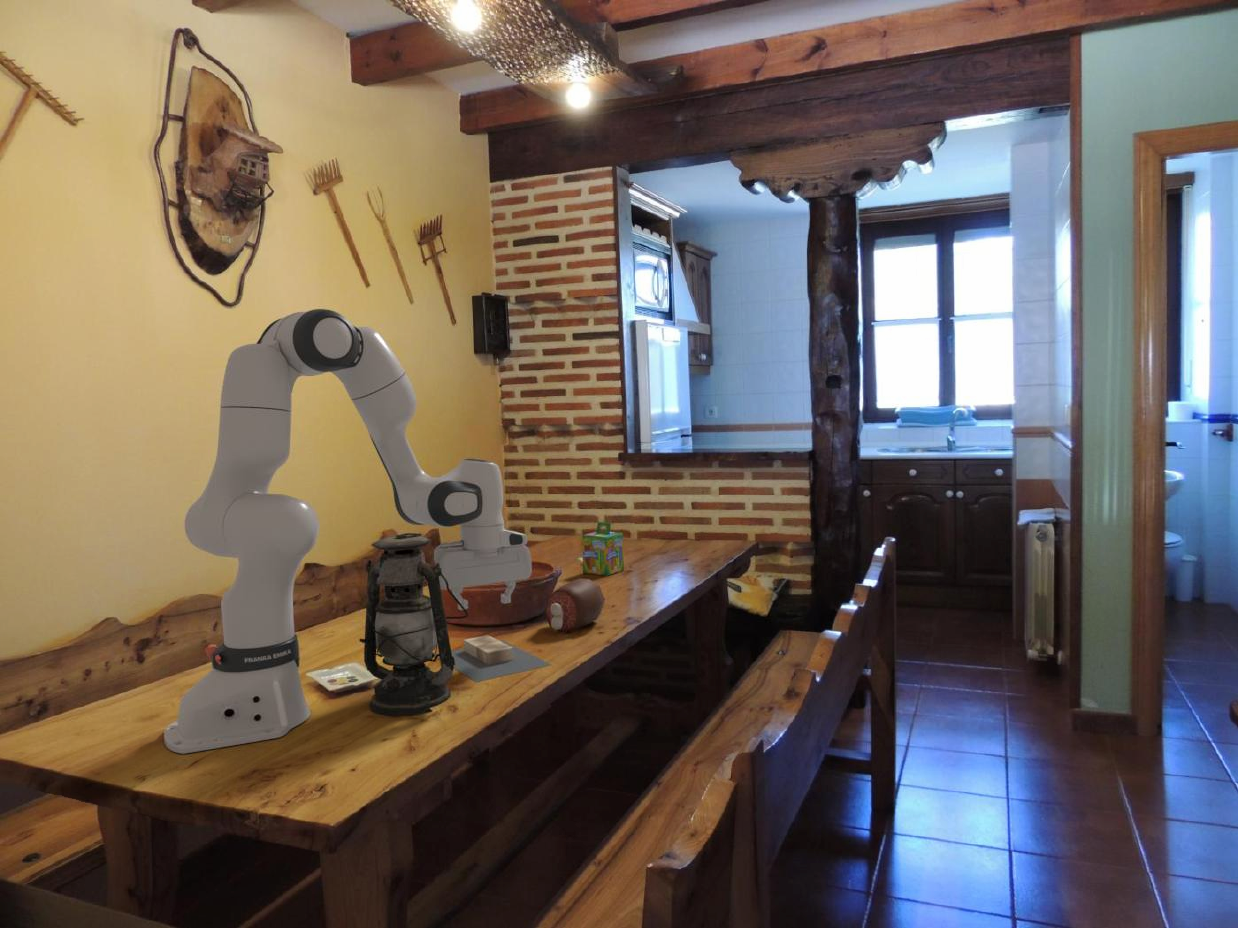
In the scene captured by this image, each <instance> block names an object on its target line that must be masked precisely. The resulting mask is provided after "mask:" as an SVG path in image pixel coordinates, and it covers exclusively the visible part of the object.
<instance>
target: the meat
mask: <svg viewBox="0 0 1238 928" xmlns="http://www.w3.org/2000/svg"><path fill="white" fill-rule="evenodd" d="M605 600H606V598H605V596H604V593H603V592H602V588H601V586H600V585H599V584H598V583H596V582H595V581H593V580H592V579H589V578H578V579H574V580H572V581H570V582H567V583H565V584H563V585H561V586H559V587H558V588H557V589H556V590H554V591H552V592H551V594H549V595H548V597H547V600H546V603H545V606H544V610H543V613H544V616H545V618H546V620H547V622H548V623H547V624H548V625H549V627H551V628H552V629H554V630H555V631H556V632H557V633H558V634H570V633H573V632H575V631H577V630H578V629H581V628H584V627H585V626H588V625H590V624H592V623H594V622H595V621H596V620H597V619H598V618H599V616H600V615H601V614H602V611H603V607H604V604H605ZM574 630H575V631H574ZM572 631H573V632H572Z"/></svg>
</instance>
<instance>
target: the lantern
mask: <svg viewBox="0 0 1238 928" xmlns="http://www.w3.org/2000/svg"><path fill="white" fill-rule="evenodd" d="M431 541H432V539H431V538H428V537H425V536H422V533H415V532H414V533H411V532H406V533H401V534H396V535H395V536H394V535H393V536H388V537H383V538H381V539H379V540H378V539H377V541H374V542H372V543H371V545H370V546H371V547H373V548H374V549H375V548H376V549H379V550H384V551H383V553H381V556H379V561H376V562H374V563H372V561H371V559H369V560H367V561H366V565H365V566H364V567H365V571H366V573H367V581H366V583H367V586H366V604H365V605H366V606H365V607H366V609H365V610H366V611H365V625H364V626H365V627H364V629H365V630H364V638H359V639H358V640H359V642H361V643H362V644H363V645H364V647H363V648H364V650H363V654H364V655H363V662H364V664H365V667H366V670H367V671H368V672H369V673H370V674H371V676H373V677H375V678H377V679H380V681H377V682H376V683H375V685H374V686H373V689H374V690H373V691H374V694H373V695H372V696H371V699H370V701H369V704H368V705H369V706H368V707H369V710H370V711H371V712H373V713H374V714H377V715H380V716H386V717H410V716H411V717H412V716H417V715H423V714H426V713H431V712H433V710H432V709H431V708H434V707H438V706H440V705H442V704H443V703H445V702H447V701H448V700H449V699H450V698H451V697H452V693H451V690H450V688H449V687H448V686H447V682H449V681H450V680H451V678H452V677H453V673H454V670H455V669H454V665H455V660H454V656H452V653H451V651H452V648H451V643H450V636H449V631H448V630H449V629H448V623H447V620H449V619H454V620H455V619H456V620H458V619H464V618H465V619H466V618H467V617H468V615H469V614H468V611H467V609H465V608H464V607H463V606H462V605H461V603H460V602H459V601H458V599H457V598H456V597H455V596H454V594H453V593H452V590H451V589H449V585H448V582H447V580H446V578H445V577H444V576H443V574H442V571H441V568H440V565H439V563H436V565H435V564H434V566H433V565H431V564H429V563H427V562H426V559H425V553H424V552H423V550H421V549H420V548H421V547H422V546H426V545H428V544H429V543H430V542H431ZM437 571H438V572H437ZM440 575H441V576H442V578H443V579H444V581H445V583H446V587H447V590H446V591H447V592H448V593H449V594H450V595H451V597H452V598H453V600H455V602H456V603H457V605H458V604H459V605H460V607H461V608H462V609H463V610H462V611H463V612H464V613H465V615H463V616H446V612H445V606H444V605H445V604H444V599H443V594H442V589H441V586H440V580H439V576H440ZM423 582H427V587H428V594H429V595H426V594H424V583H423ZM381 586H384V592H385V598H384V599H381V600H380V592H381V590H380V588H381ZM437 651H438V653H437ZM435 654H437V655H436V656H435ZM438 656H440V659H439V662H440V669H439V670H437V671H432V670H431V667H429V666H426V663H427V662H431V663H432V662H433V663H435V662H437V660H438V658H437V657H438ZM377 657H380V658H382V660H381V661H382V663H383V664H384V665H386V666H392V669H388V668H386V667H384V666H383V665H380V664H379V662H378V661H377Z"/></svg>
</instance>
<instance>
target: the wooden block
mask: <svg viewBox="0 0 1238 928" xmlns="http://www.w3.org/2000/svg"><path fill="white" fill-rule="evenodd" d="M501 641H502V640H499V639H497V638H495V637H493V636H492V635H491V636H490V635H488V634H485V635H481V636H477V637H471V638H466V639H463V648H464V651H465V652H467V653H469V654H470V655H472V656H474V657H476V658H477V659H479V660H481V661H483V662H484V663H486V664H488V665H490V664H495V663H499V662H504V661H508V660H513V647H511V646H509V645H507V644H505V643H503V642H501Z"/></svg>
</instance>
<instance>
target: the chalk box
mask: <svg viewBox="0 0 1238 928" xmlns="http://www.w3.org/2000/svg"><path fill="white" fill-rule="evenodd" d="M611 524H612V523H610V522H602V521H599V522H597V525H596V531H594V532H591V533H587V534H582V535H581V538H582V539H581V541H582V573H583V574H588V575H597V576H602V577H603V576H604V577H608V576H611V575H613V574H617V573H619V572H624V570H625V562H624V559H625V558H624V557H625V556H624V555H625V554H624V552H625V551H624V533H622V532H617V531H611ZM602 527H605V530H602Z"/></svg>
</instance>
